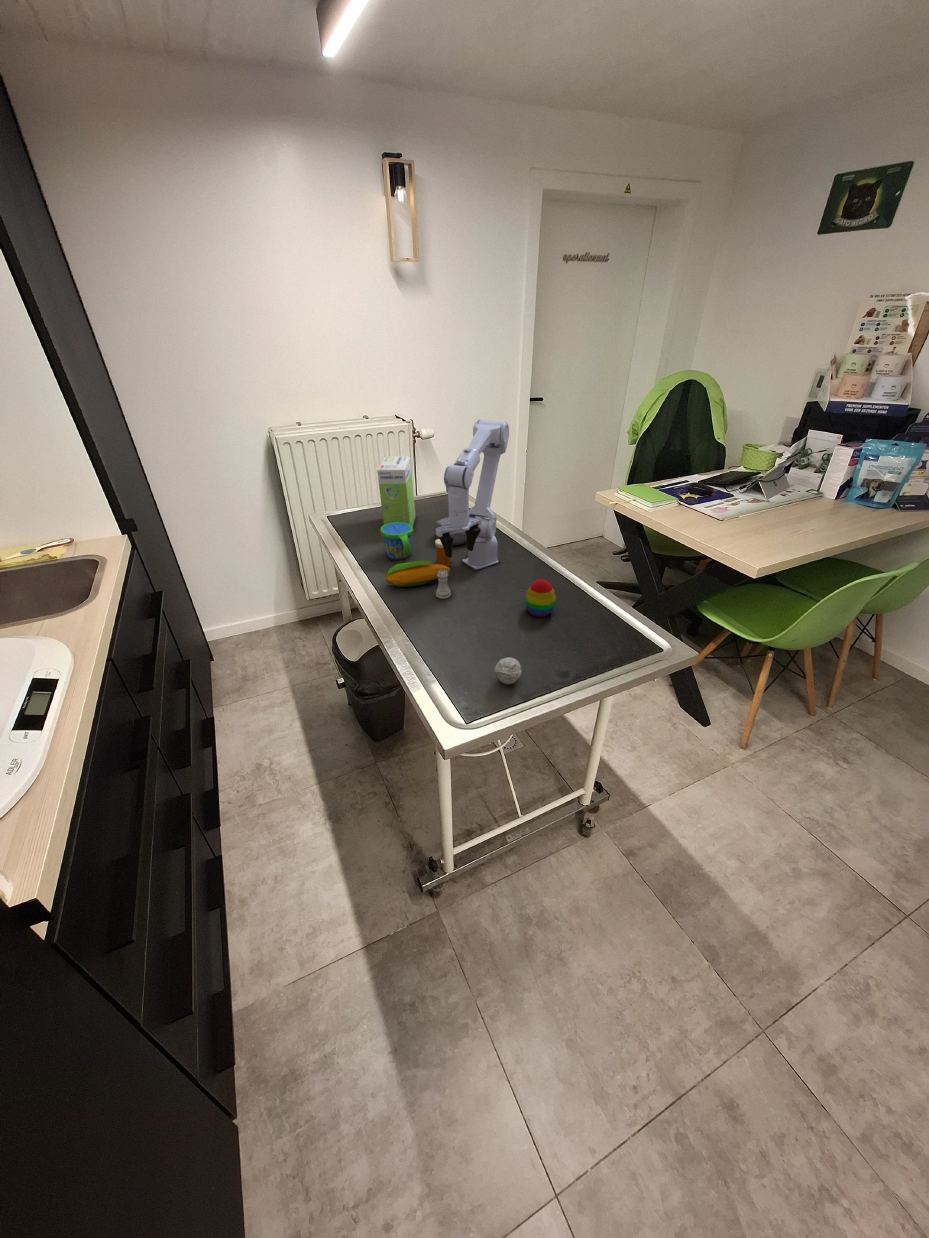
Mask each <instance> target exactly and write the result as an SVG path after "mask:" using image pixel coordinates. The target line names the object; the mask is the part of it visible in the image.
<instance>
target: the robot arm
mask: <svg viewBox="0 0 929 1238" xmlns="http://www.w3.org/2000/svg"><path fill="white" fill-rule="evenodd" d="M509 437H510V426H509V423H508V422H507V421H494V420H483V419H477V420H476V421H475V422H474V424H473V427H472V439H471V442H470V444H469V446H468V447H464V448H463V449H461V452H460V453H459V455H458V456H457V458H456V460H455V461H454V462H453V463H452V464H450V465H448V466H446V468H445V470H444V475H443V483H444V487H445V492H446V493H447V503H448V504H447V505H448V506H447V507H448V517H449V523H447V524H445V525H443V526H441V527H439V528H436V534H435V536H436V535H437V536H438V537H437V536H436V537H437V539H438V538H439V539H440V541H441V543H442V545H443V548H444V551H445V555H446V556H447V557H448V558H450V559H451V558H452V556H453V545H452V543H453V539H454V538H452V537H451V536H450V535H449V533H452V532H456V531H460V530H462V532H463V534H464V535H466V544H465V545H466V549H467V558H464V559H462V562H463V563H464V564H466V565H468V566H469V567H470V568H472V569H473V570H475V571H478V570H480V569H484V568H487V567H490V566H492V565H495V564H498V563H499V560H498V547H499V543H498V539H497V538H496V536H495V535H496V532H497V519H498V518H497V516H496V514H495V513H494V511H493V510H492V509H491V504H492V500H493V494H494V490H495V489H494V488H495V484H496V479H497V474H498V468H499V463H500V459H501V455H503V454H505V453H506V451H507V448H508V443H509V439H510V438H509ZM482 453H483V460H482V465H481V471H480V475H479V481H478V485H477V490H476V491H477V492H476V495H475V502H474V505H473V506H472V507H470V487H471V486H472V484H473V478H474V475H475V470H476V469H477V467H478V465H479V464H480V462H481V454H482ZM475 516H478V517H484V518H486V519H484V518H478V517H475Z"/></svg>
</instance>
